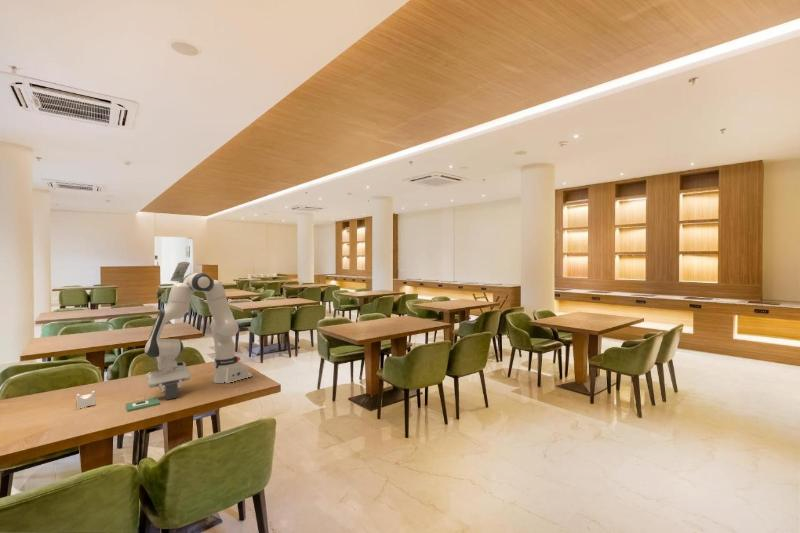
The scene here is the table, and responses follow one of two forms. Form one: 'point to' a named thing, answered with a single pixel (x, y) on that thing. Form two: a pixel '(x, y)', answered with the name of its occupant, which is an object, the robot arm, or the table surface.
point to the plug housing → (171, 390)
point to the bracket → (85, 400)
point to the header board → (142, 404)
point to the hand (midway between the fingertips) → (171, 390)
